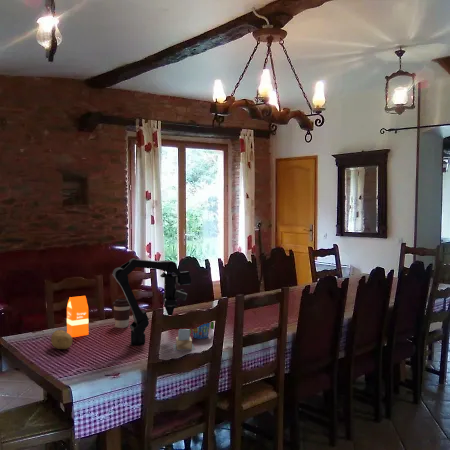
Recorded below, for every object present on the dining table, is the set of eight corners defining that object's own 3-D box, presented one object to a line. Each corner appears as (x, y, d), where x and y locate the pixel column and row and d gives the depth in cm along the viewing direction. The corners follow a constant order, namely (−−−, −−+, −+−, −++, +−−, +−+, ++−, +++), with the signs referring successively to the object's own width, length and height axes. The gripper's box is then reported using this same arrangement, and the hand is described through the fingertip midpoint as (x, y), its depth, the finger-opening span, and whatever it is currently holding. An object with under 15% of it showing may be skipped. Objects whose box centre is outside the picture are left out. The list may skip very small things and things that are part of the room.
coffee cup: (111, 325, 283) (110, 298, 283) (128, 323, 288) (128, 297, 287) (114, 329, 274) (114, 302, 274) (132, 327, 279) (132, 300, 278)
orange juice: (66, 334, 264) (66, 296, 263) (83, 331, 269) (82, 294, 268) (72, 337, 258) (71, 298, 257) (88, 334, 263) (88, 296, 262)
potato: (55, 354, 230) (55, 336, 229) (47, 346, 241) (47, 330, 241) (77, 350, 235) (77, 333, 235) (68, 343, 247) (67, 327, 247)
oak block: (177, 349, 237) (177, 341, 237) (176, 345, 244) (176, 337, 244) (191, 348, 239) (191, 340, 238) (190, 344, 245) (190, 336, 245)
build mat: (174, 351, 236) (174, 350, 236) (172, 345, 246) (172, 344, 246) (195, 350, 237) (195, 349, 237) (193, 344, 247) (193, 343, 247)
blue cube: (179, 340, 238) (179, 330, 238) (178, 337, 243) (178, 327, 243) (189, 340, 239) (189, 329, 239) (188, 337, 244) (188, 327, 244)
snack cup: (208, 333, 269) (208, 314, 268) (219, 337, 260) (219, 318, 259) (182, 337, 260) (182, 317, 259) (192, 342, 251) (192, 321, 251)
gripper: (187, 288, 245) (187, 320, 246) (184, 282, 264) (184, 312, 264) (164, 289, 243) (164, 321, 244) (163, 282, 262) (163, 312, 262)
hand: (169, 316), depth 254 cm, fingers open, 9 cm apart
